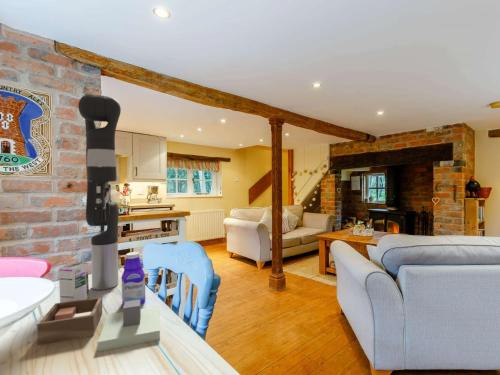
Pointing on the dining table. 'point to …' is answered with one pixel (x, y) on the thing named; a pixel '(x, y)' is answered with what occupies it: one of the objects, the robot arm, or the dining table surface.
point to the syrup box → (74, 282)
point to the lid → (130, 326)
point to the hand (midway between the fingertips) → (103, 219)
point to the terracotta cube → (65, 313)
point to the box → (70, 321)
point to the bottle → (133, 279)
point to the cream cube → (82, 314)
